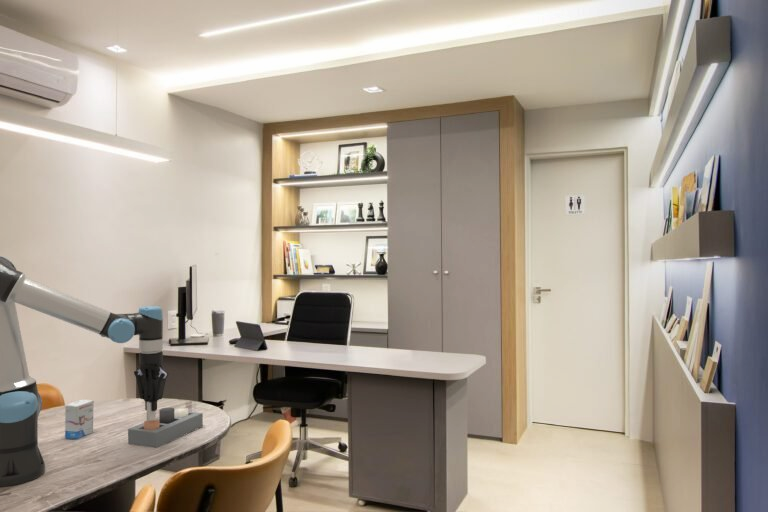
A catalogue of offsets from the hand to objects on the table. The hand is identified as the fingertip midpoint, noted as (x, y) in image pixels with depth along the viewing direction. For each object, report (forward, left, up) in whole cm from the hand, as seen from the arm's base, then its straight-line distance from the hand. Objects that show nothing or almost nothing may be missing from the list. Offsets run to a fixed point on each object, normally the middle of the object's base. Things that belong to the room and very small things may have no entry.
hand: (151, 419), depth 195 cm
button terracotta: (0, 0, -7) cm, 7 cm away
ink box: (-3, +29, -8) cm, 30 cm away
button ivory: (+15, 0, -7) cm, 16 cm away
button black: (+8, 0, -4) cm, 9 cm away
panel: (+8, 0, -7) cm, 11 cm away
